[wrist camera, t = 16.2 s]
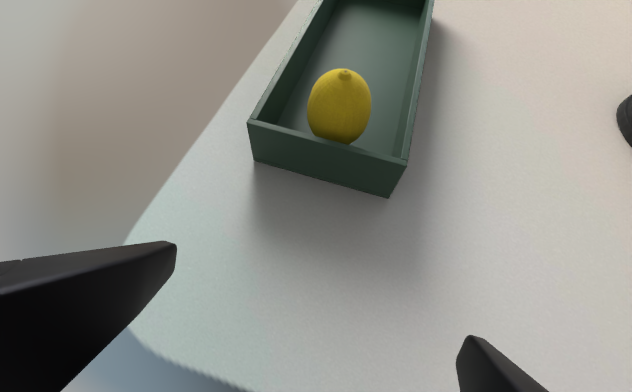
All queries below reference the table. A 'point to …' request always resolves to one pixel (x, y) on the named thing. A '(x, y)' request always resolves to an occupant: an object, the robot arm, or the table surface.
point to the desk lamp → (625, 118)
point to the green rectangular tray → (377, 71)
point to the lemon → (339, 106)
